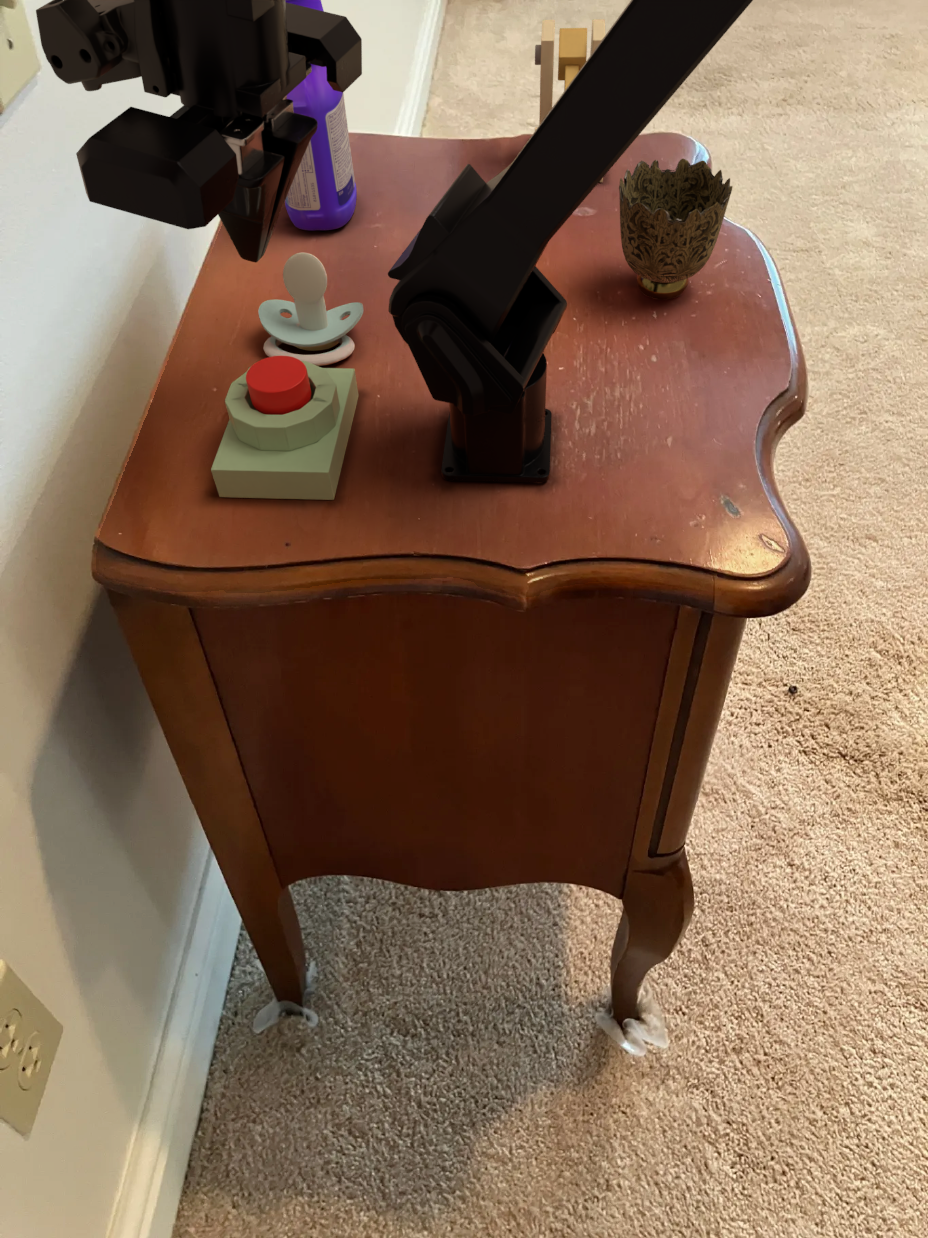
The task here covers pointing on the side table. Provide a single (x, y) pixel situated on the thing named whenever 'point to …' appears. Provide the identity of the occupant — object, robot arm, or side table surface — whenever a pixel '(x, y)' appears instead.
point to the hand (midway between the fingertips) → (252, 257)
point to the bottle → (322, 154)
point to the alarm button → (278, 385)
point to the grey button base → (287, 441)
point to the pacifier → (308, 315)
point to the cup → (670, 223)
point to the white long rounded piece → (571, 53)
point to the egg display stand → (546, 60)
